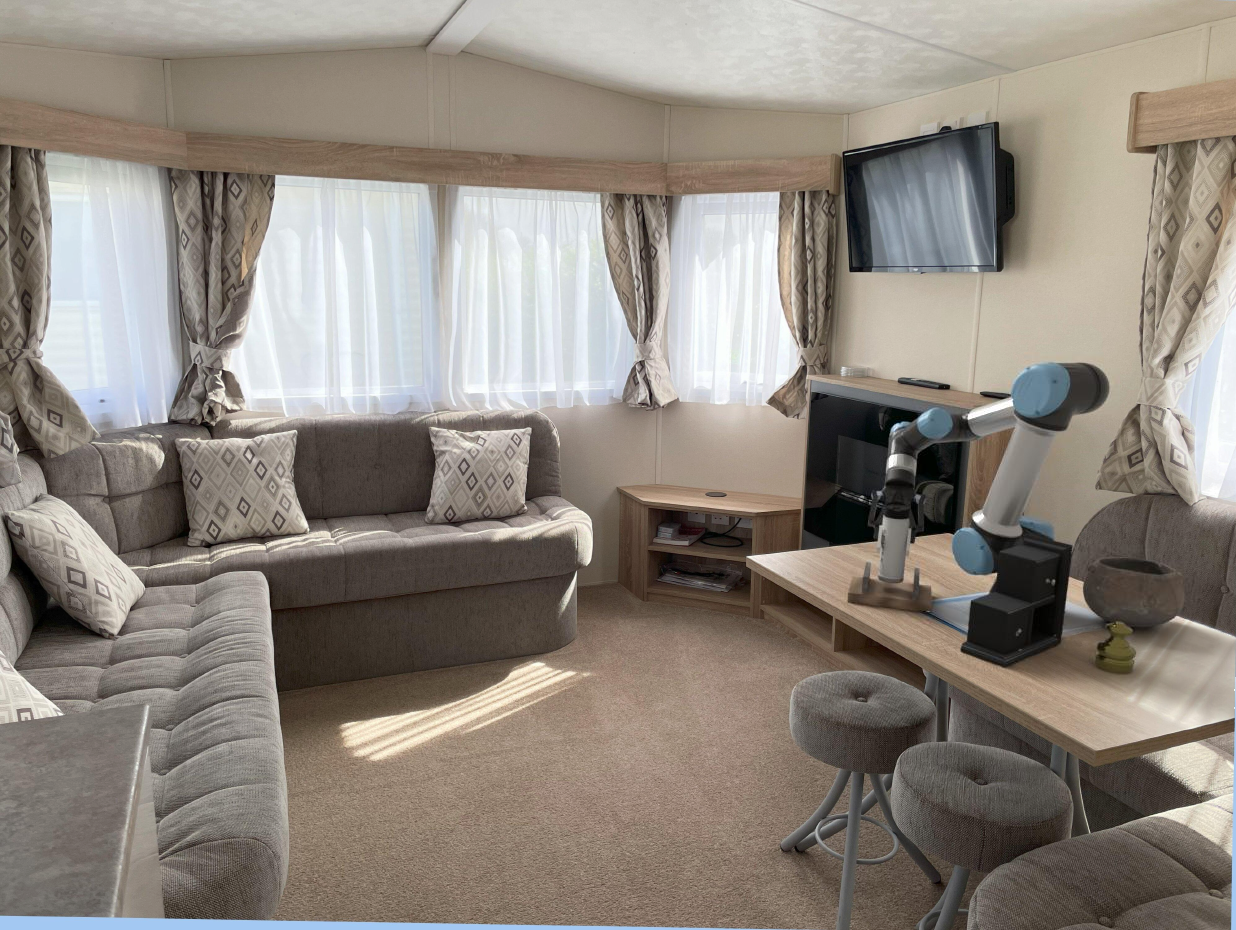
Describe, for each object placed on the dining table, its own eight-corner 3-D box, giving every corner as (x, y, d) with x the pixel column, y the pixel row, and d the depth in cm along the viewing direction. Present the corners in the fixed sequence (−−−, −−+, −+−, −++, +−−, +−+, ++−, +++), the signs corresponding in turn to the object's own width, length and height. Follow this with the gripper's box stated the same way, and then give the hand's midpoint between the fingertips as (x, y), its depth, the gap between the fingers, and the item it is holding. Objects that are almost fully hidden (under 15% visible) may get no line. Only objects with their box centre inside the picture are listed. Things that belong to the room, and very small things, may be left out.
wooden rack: (930, 595, 235) (932, 569, 234) (930, 612, 222) (933, 585, 220) (851, 585, 241) (853, 560, 240) (847, 601, 228) (849, 575, 227)
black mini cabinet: (1004, 668, 190) (1017, 561, 185) (958, 651, 198) (969, 548, 194) (1062, 645, 204) (1074, 544, 199) (1016, 630, 212) (1028, 533, 208)
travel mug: (903, 577, 233) (910, 501, 229) (902, 584, 227) (910, 507, 223) (878, 574, 235) (885, 499, 231) (877, 581, 229) (883, 505, 225)
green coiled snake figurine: (1123, 677, 187) (1129, 632, 185) (1087, 665, 193) (1093, 620, 191) (1139, 669, 191) (1146, 624, 189) (1104, 657, 197) (1110, 614, 195)
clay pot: (1064, 620, 219) (1072, 560, 216) (1101, 602, 233) (1109, 546, 230) (1159, 647, 204) (1168, 584, 201) (1192, 627, 217) (1202, 567, 214)
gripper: (937, 486, 238) (932, 563, 226) (862, 479, 244) (853, 554, 232) (940, 470, 232) (934, 548, 220) (863, 464, 238) (853, 539, 226)
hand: (893, 551), depth 226 cm, fingers closed on travel mug, 6 cm apart
